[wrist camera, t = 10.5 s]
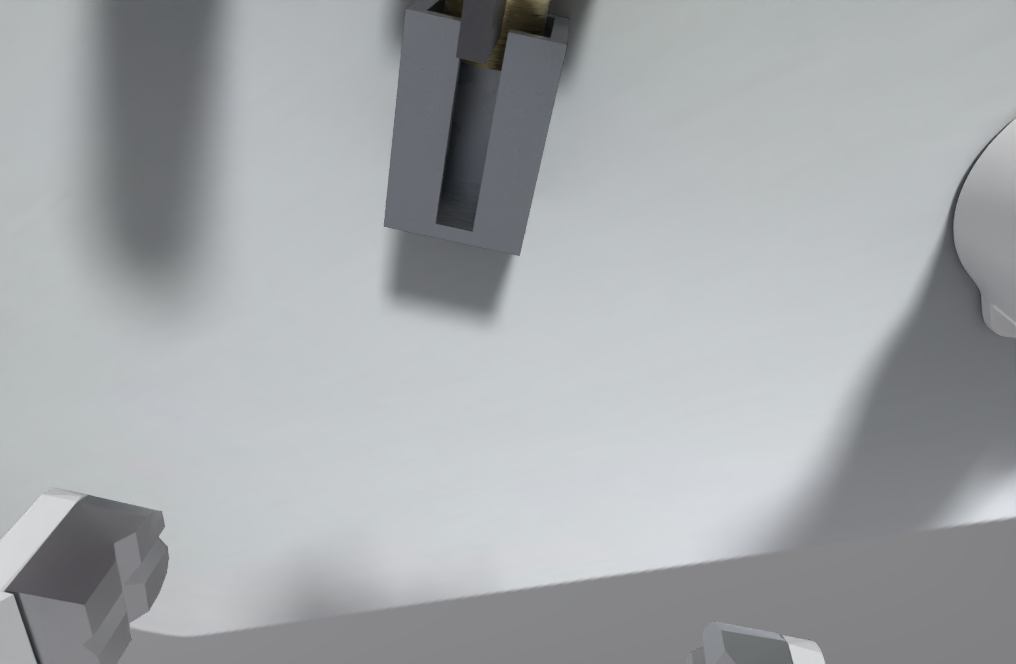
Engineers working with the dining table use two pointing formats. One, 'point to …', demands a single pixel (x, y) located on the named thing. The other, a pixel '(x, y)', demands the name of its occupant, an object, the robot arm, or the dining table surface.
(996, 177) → the robot arm
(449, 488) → the dining table surface
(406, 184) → the sleeve
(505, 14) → the tube
